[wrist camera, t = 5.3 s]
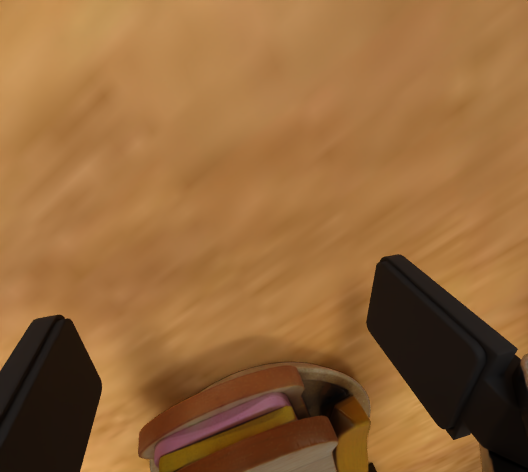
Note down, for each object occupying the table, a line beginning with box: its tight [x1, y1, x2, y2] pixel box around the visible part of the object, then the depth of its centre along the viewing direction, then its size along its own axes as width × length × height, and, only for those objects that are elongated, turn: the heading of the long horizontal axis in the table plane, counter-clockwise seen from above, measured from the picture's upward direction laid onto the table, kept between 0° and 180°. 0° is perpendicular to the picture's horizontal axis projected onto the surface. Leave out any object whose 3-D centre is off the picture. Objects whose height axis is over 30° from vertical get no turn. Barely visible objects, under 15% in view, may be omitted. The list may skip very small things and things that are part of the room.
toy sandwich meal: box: [138, 362, 371, 472], centre depth 15 cm, size 12×14×5 cm
